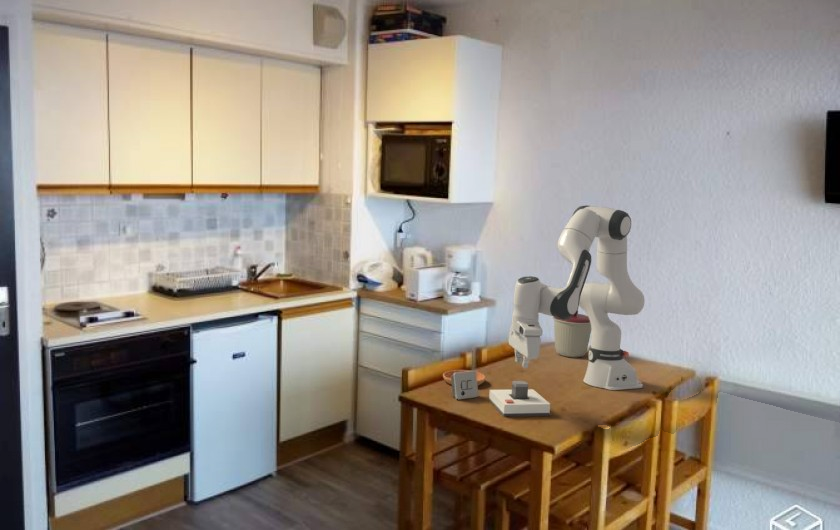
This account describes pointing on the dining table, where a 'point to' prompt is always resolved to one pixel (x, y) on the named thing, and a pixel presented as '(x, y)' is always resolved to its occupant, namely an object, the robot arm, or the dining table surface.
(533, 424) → the dining table surface
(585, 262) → the robot arm
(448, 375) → the saucer
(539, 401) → the socket
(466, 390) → the electrical switch
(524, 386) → the grey upright block
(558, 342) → the canister
